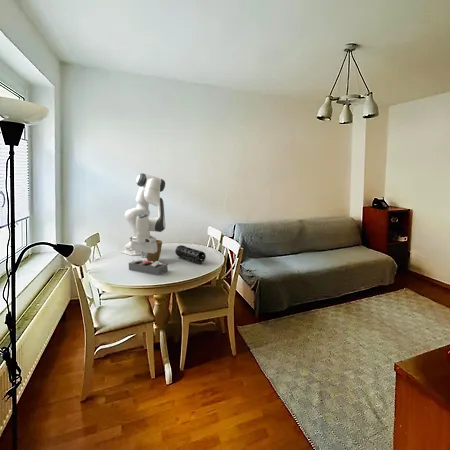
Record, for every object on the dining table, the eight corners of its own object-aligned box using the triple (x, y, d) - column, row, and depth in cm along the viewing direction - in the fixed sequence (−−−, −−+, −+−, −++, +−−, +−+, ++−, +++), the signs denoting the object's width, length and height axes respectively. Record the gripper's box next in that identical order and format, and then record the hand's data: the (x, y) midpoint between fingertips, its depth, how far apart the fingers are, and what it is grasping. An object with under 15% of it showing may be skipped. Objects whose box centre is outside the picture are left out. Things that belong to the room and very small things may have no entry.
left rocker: (132, 262, 209) (132, 259, 209) (138, 261, 214) (138, 259, 214) (136, 263, 207) (136, 260, 207) (142, 262, 213) (142, 260, 213)
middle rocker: (141, 263, 205) (141, 261, 205) (147, 263, 211) (147, 260, 211) (145, 264, 204) (145, 262, 204) (151, 263, 209) (151, 261, 209)
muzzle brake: (196, 266, 221) (196, 252, 219) (174, 258, 240) (173, 245, 238) (206, 263, 227) (206, 250, 225) (183, 255, 247) (183, 243, 245)
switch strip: (128, 269, 211) (128, 262, 210) (138, 265, 220) (138, 258, 219) (158, 275, 200) (158, 267, 199) (167, 270, 209) (167, 263, 208)
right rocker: (151, 267, 203) (150, 264, 202) (156, 263, 208) (156, 260, 207) (155, 267, 201) (154, 265, 201) (160, 263, 206) (160, 261, 206)
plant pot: (166, 260, 233) (166, 240, 230) (153, 265, 220) (152, 244, 217) (152, 257, 240) (151, 238, 237) (138, 262, 227) (137, 242, 224)
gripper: (128, 237, 203) (129, 257, 206) (152, 240, 195) (153, 260, 198) (134, 235, 209) (135, 254, 212) (158, 238, 201) (159, 258, 203)
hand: (144, 257), depth 205 cm, fingers closed
